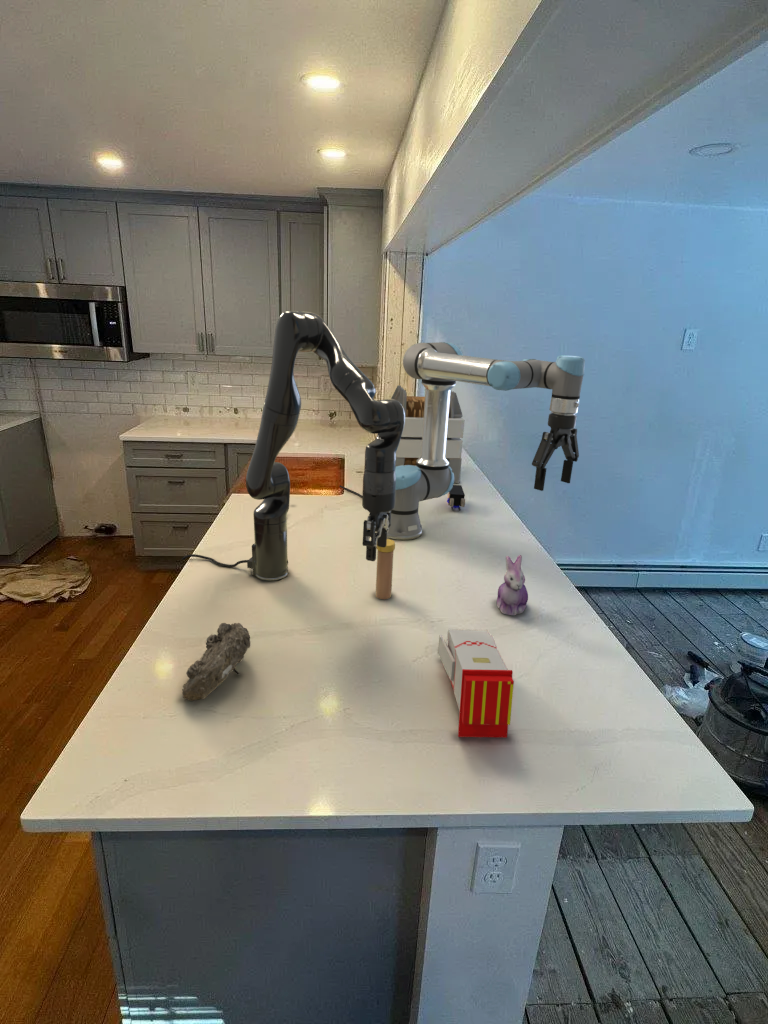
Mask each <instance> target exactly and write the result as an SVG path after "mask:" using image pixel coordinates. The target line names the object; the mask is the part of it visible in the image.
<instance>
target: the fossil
mask: <svg viewBox="0 0 768 1024" xmlns="http://www.w3.org/2000/svg"><path fill="white" fill-rule="evenodd" d="M216 632H217V633H216V634H215V633H214V634H210V635H209V636H208V637H207V638H206V640H205V641H206V642H205V645H206V646H205V648H206V649H205V651H204V653H202V656H201V658H200V660H196V661H194V663H193V664H191V665H190V666H189V667H188V668H187V671H186V673H185V674H186V676H187V678H188V679H187V681H186V682H185V683H184V684H183V685H182V689H181V690H182V698H183V700H184V699H185V700H186V699H187V700H188V701H191V702H192V701H197V700H201V699H202V700H203V699H204V700H205V698H207V697H208V696H209V695H210V694H211V693H212V692H214V691H215V690H216V689H217V687H219V686H220V685H221V684H222V683H223V682H224V681H225V680H227V678H228V676H229V674H230V673H232V672H234V673H235V674H236V675H237V676H239V675H240V672H239V671H238V670H237V669H236V666H237V664H238V663H241V662H242V661H243V659H244V658H245V655H246V654H247V652H248V649H250V648H251V635H250V631H249V630H248V628H247V627H244V626H243V624H242V623H240V622H234V623H231V624H230V623H226V622H222V623H220V624H219V625H218V628H217V631H216Z"/></svg>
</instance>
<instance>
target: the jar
mask: <svg viewBox="0 0 768 1024" xmlns="http://www.w3.org/2000/svg"><path fill="white" fill-rule="evenodd" d="M394 551H395V550H394ZM394 551H392V552H381V551H378V550H377V549H376V572H375V597H376V598H377V599H379V600H388V599H390V598H391V597H392V590H393V589H392V587H393V586H392V585H393V570H394Z"/></svg>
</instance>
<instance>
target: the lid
mask: <svg viewBox="0 0 768 1024" xmlns="http://www.w3.org/2000/svg"><path fill="white" fill-rule="evenodd" d="M395 549H396V542H395V540H394V539H390V538H387V545H386V547H378V546H377V545H376V551H377V550H378V551H381V552H392V551H395Z"/></svg>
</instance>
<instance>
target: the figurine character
mask: <svg viewBox="0 0 768 1024" xmlns="http://www.w3.org/2000/svg"><path fill="white" fill-rule="evenodd" d="M446 495H447V496H446V497H447V500H446V503H447V504H448V506H449V508H450V509H451V511H454V509H458V511H461V510H462V509H461V508H465V505H466V497H465V496H466V494H465V492H464V488H463V486H462V485H461V484H453V487H452V489H451V490H450V491H449V492H448V493H447V494H446Z"/></svg>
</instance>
